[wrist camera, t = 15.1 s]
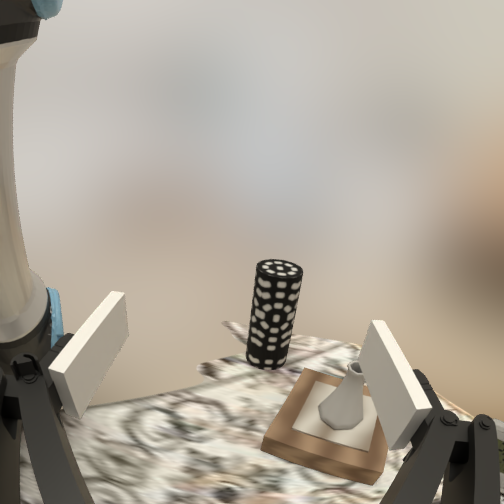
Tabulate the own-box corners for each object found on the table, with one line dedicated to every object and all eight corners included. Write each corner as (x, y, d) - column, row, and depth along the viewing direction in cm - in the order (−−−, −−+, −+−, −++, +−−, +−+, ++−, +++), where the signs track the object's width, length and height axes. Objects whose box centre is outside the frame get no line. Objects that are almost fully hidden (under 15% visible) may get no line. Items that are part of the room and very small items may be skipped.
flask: (370, 422, 41) (393, 376, 37) (331, 436, 38) (352, 389, 35) (347, 394, 47) (364, 347, 44) (310, 404, 45) (325, 356, 41)
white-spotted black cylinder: (245, 344, 66) (255, 257, 59) (283, 346, 66) (298, 261, 60) (246, 369, 58) (257, 276, 51) (288, 370, 59) (307, 279, 52)
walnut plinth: (260, 450, 40) (264, 434, 38) (300, 382, 55) (305, 365, 54) (372, 485, 33) (384, 471, 31) (388, 409, 48) (397, 392, 47)
